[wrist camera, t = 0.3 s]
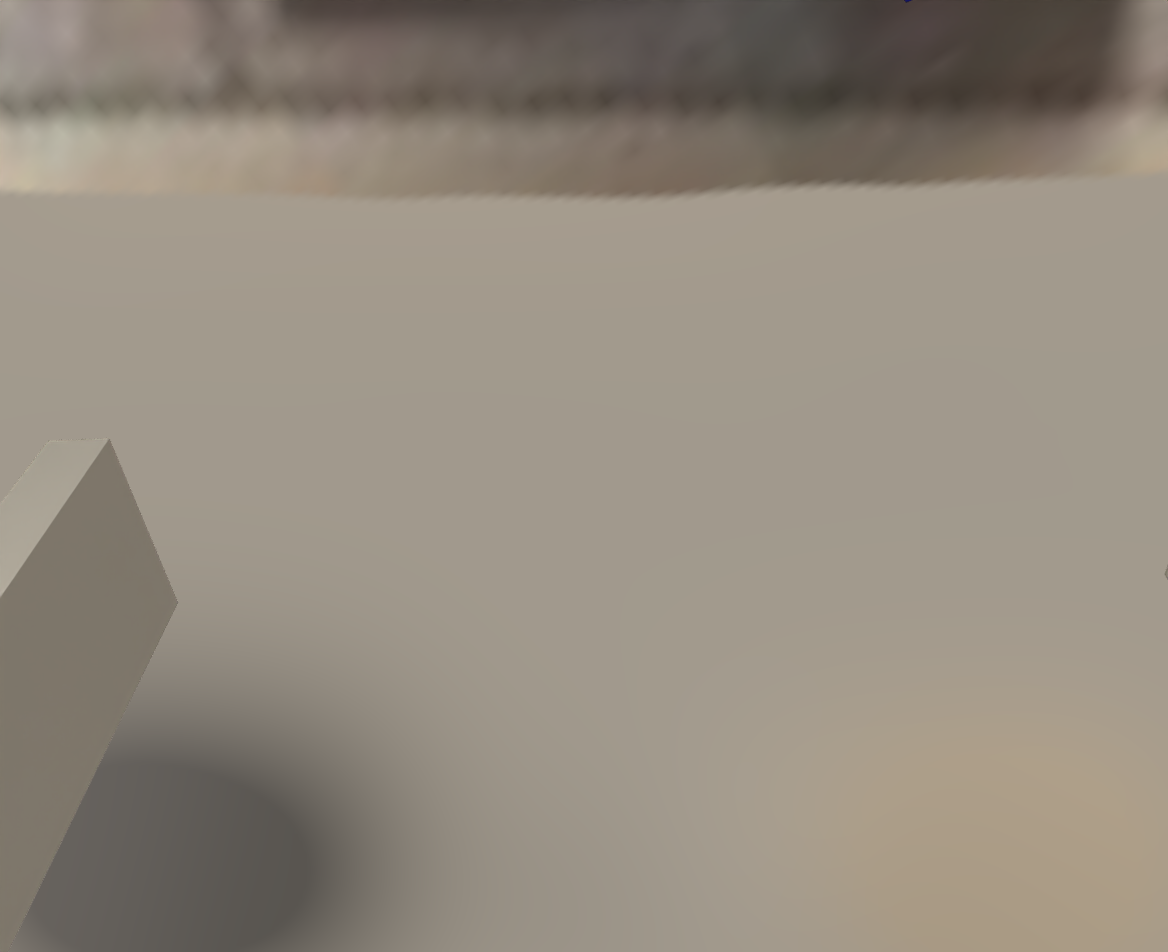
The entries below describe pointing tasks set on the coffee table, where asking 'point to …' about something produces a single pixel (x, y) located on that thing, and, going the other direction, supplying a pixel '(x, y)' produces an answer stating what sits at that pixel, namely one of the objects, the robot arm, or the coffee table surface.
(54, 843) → the robot arm
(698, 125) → the coffee table surface
